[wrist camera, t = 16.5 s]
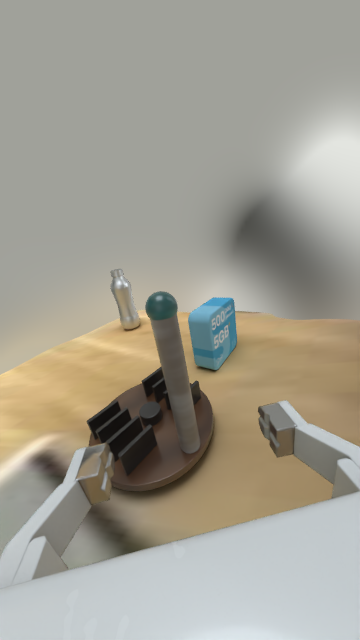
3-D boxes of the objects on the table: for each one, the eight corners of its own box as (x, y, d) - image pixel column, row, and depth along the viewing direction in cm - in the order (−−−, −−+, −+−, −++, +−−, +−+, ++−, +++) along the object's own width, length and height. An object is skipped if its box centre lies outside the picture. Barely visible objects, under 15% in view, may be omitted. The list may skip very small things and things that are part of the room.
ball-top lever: (70, 437, 29) (7, 309, 22) (157, 372, 40) (133, 274, 33) (144, 537, 17) (60, 337, 11) (236, 407, 29) (224, 270, 22)
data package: (215, 373, 39) (208, 316, 35) (195, 368, 42) (186, 314, 37) (237, 344, 48) (234, 295, 43) (220, 341, 50) (215, 295, 46)
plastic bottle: (144, 323, 72) (130, 266, 65) (135, 331, 66) (118, 270, 59) (129, 324, 74) (114, 269, 67) (119, 332, 69) (101, 273, 62)
